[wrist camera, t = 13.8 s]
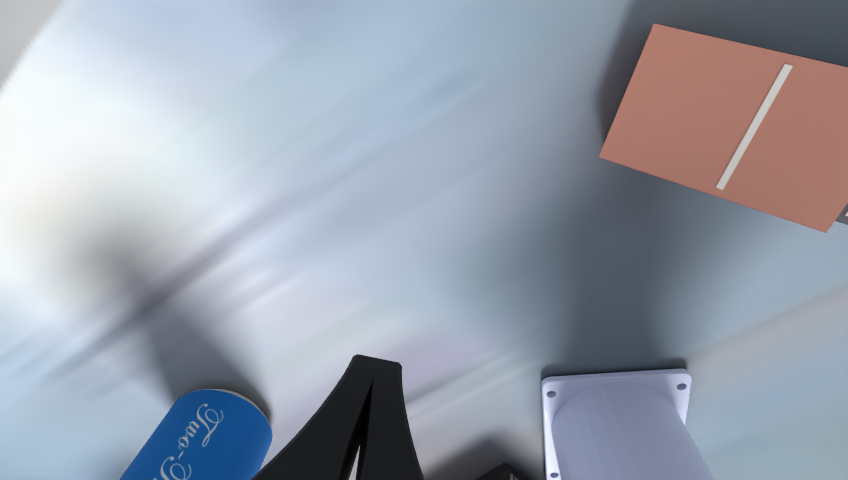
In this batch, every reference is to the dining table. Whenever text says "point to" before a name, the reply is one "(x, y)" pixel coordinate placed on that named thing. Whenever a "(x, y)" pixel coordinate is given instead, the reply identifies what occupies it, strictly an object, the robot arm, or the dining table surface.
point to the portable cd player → (501, 474)
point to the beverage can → (205, 440)
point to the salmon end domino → (737, 125)
